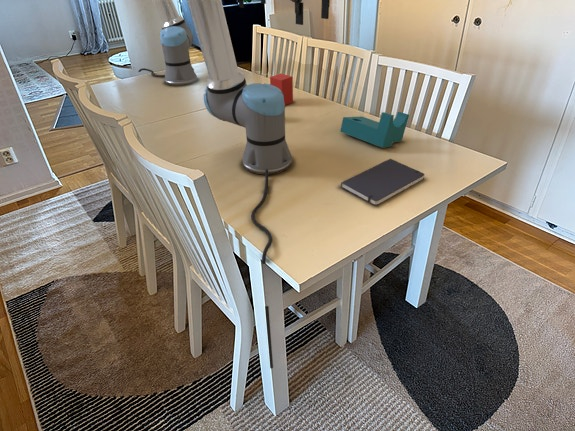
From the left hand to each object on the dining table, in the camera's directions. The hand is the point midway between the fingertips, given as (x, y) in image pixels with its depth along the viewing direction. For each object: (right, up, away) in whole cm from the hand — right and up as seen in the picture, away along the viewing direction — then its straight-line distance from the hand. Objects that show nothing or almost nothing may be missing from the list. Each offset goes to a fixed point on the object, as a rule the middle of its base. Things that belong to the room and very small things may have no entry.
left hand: (252, 5), depth 190 cm
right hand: (+25, -32, -52) cm, 66 cm away
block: (+14, -52, -21) cm, 58 cm away
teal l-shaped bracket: (+46, -72, -51) cm, 99 cm away
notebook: (+44, -90, -76) cm, 125 cm away
